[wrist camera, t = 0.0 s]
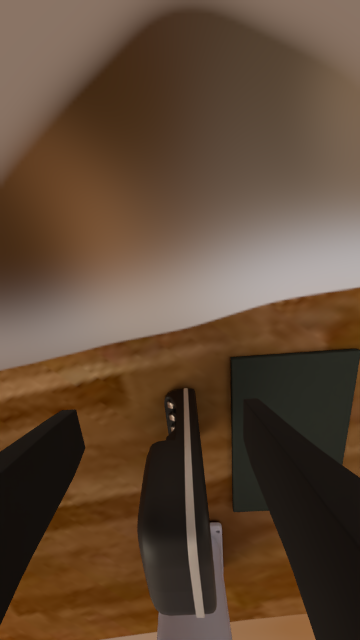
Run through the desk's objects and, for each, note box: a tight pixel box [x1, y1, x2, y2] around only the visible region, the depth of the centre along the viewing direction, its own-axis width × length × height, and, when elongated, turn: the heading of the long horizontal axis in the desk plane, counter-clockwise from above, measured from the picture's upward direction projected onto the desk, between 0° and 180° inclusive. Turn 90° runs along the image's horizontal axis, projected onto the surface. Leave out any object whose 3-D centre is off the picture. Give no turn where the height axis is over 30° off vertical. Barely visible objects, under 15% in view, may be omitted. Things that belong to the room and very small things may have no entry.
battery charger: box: [138, 388, 217, 618], centre depth 14 cm, size 7×4×11 cm, turn 6°
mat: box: [231, 349, 360, 512], centre depth 20 cm, size 20×12×1 cm, turn 4°
